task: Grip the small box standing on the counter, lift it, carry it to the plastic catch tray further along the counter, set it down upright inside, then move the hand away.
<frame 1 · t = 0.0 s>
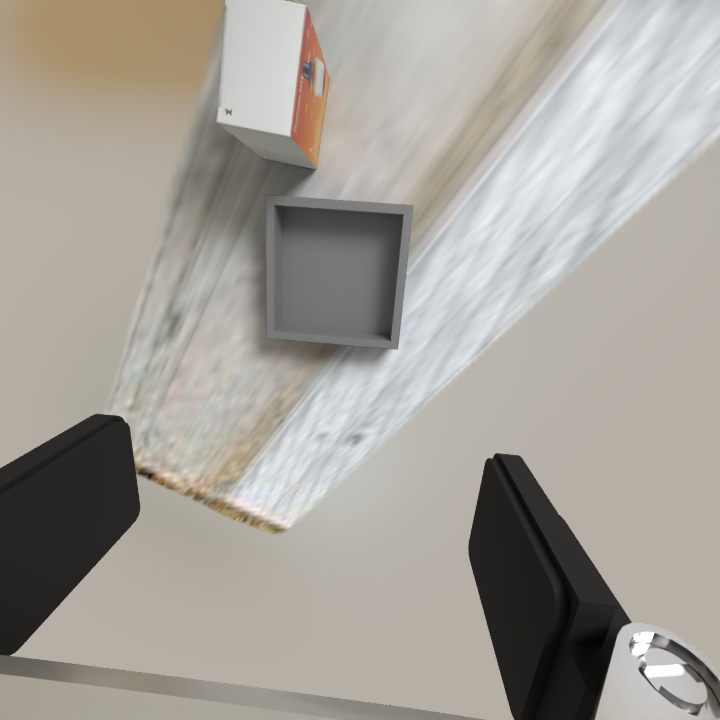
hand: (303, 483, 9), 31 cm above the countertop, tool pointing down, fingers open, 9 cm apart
small box: (296, 119, 35), on the countertop
catch tray: (339, 273, 38), on the countertop
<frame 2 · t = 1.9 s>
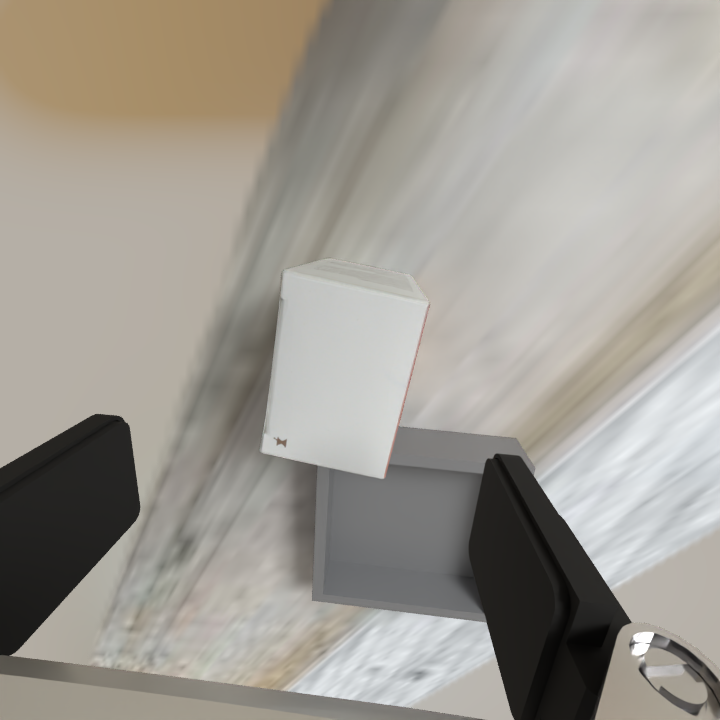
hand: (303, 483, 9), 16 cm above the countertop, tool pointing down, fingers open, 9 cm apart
small box: (358, 324, 24), on the countertop
catch tray: (409, 505, 28), on the countertop
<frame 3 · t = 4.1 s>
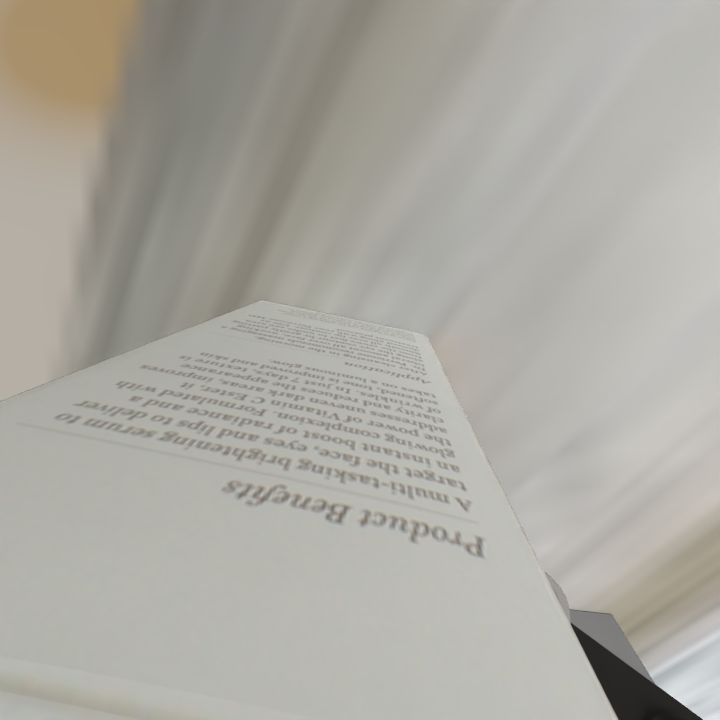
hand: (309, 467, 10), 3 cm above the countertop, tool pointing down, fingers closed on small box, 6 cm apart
small box: (325, 420, 13), on the countertop, touching gripper
catch tray: (418, 706, 17), on the countertop
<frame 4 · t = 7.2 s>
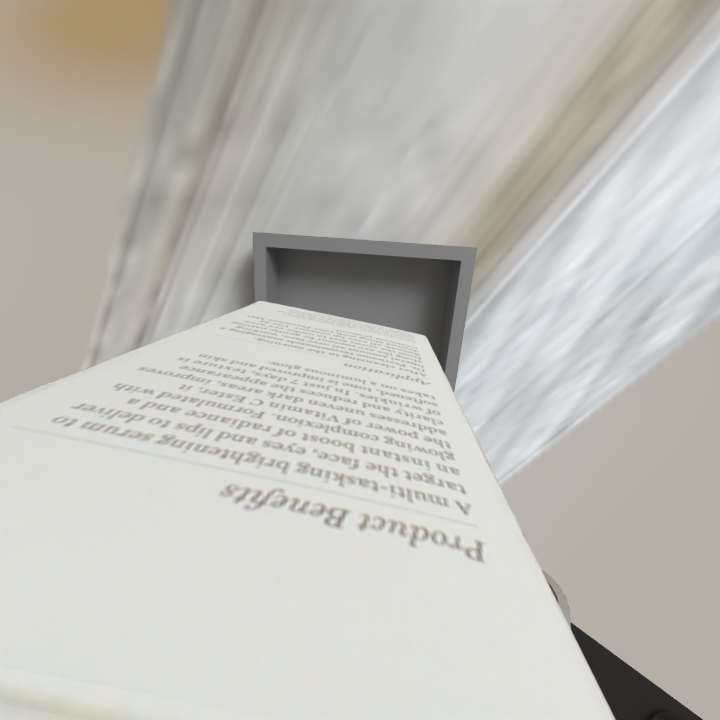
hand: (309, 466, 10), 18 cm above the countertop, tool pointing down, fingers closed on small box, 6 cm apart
small box: (324, 421, 13), point 15 cm above the countertop, touching gripper
catch tray: (359, 335, 27), on the countertop
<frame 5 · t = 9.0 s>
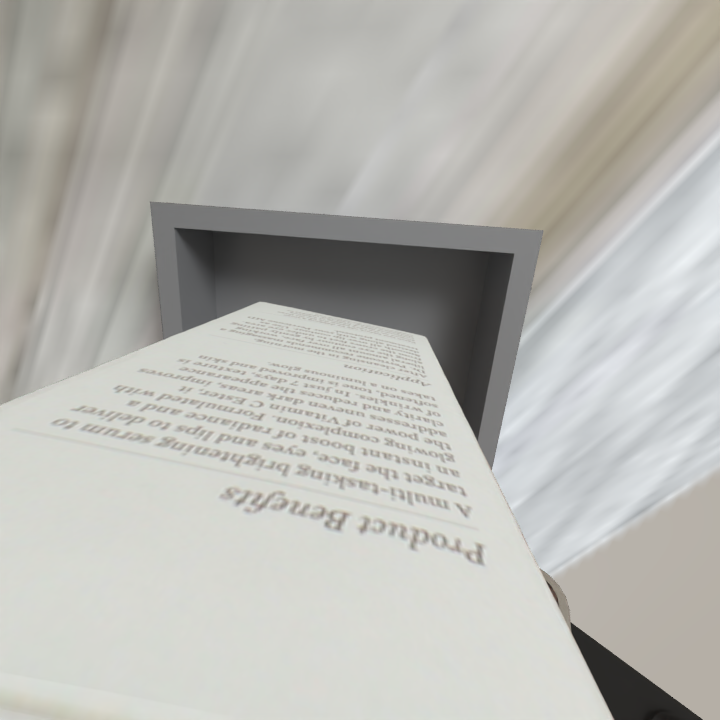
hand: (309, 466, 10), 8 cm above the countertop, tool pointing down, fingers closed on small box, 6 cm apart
small box: (324, 422, 13), point 5 cm above the countertop, touching gripper
catch tray: (342, 368, 18), on the countertop
when the fingers open (4 cm above the countertop, at t = 10.6 s): small box drops 1 cm, resting on catch tray.
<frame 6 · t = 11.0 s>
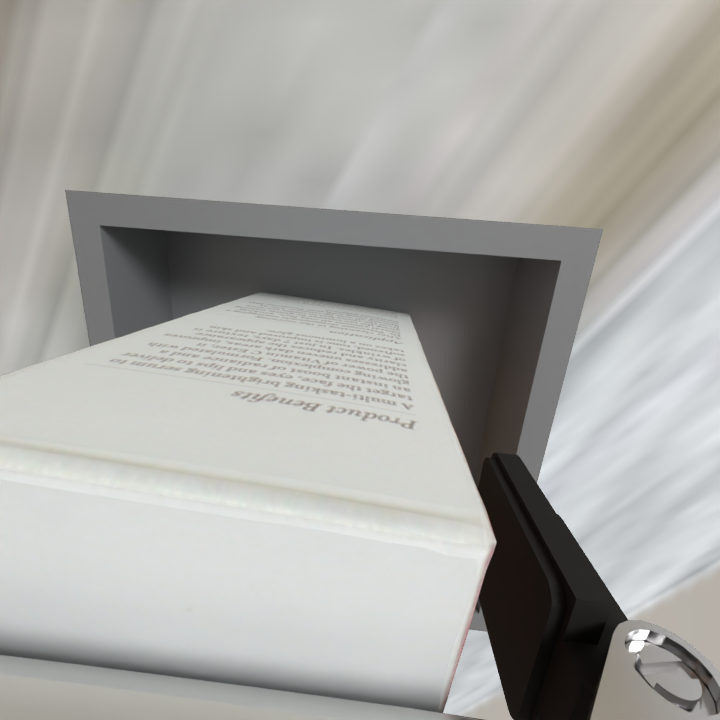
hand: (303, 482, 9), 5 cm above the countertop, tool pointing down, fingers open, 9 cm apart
small box: (324, 399, 14), resting on catch tray
catch tray: (332, 400, 14), on the countertop
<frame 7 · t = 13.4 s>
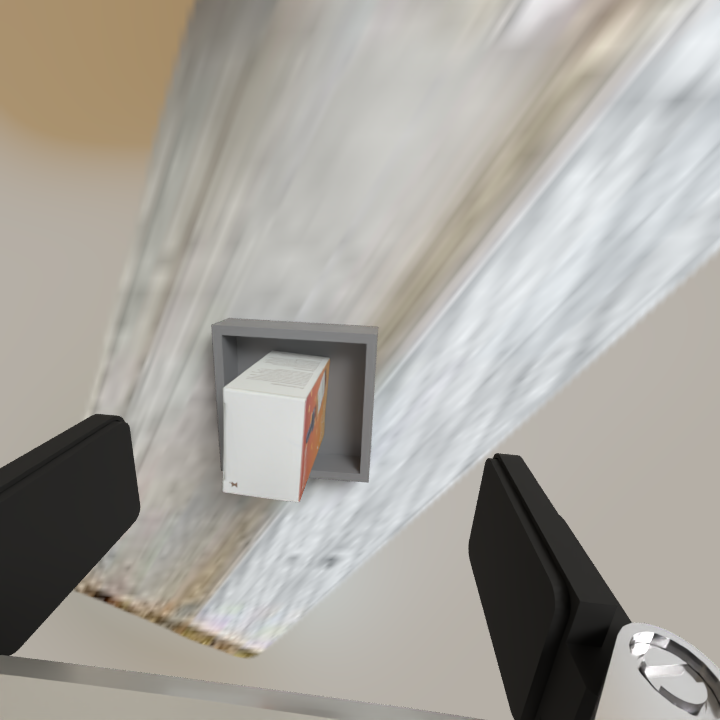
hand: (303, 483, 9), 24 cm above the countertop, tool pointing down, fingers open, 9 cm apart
small box: (299, 392, 34), resting on catch tray
catch tray: (302, 393, 34), on the countertop
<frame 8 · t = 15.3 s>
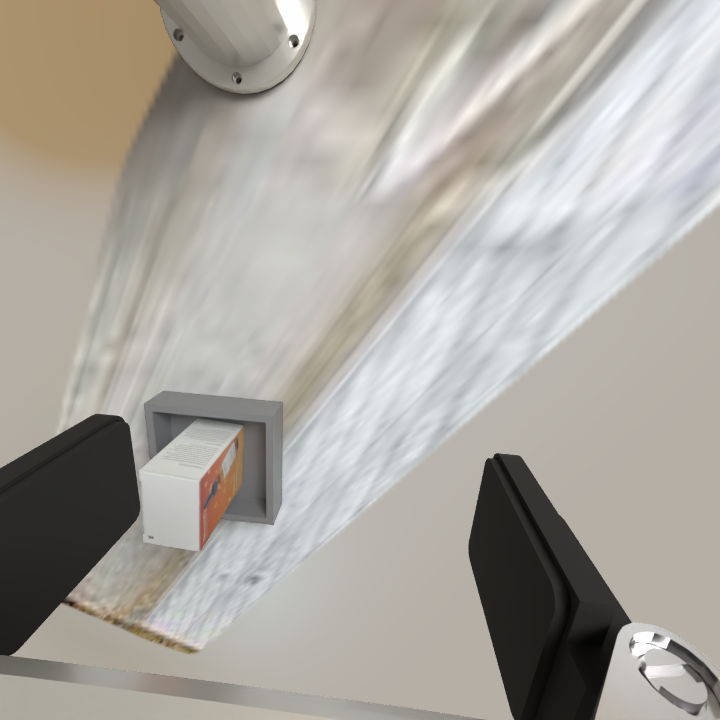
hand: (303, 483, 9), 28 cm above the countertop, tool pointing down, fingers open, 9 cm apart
small box: (221, 449, 42), resting on catch tray
catch tray: (225, 449, 42), on the countertop
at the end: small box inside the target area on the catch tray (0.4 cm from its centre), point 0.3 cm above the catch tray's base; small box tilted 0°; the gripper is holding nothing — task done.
